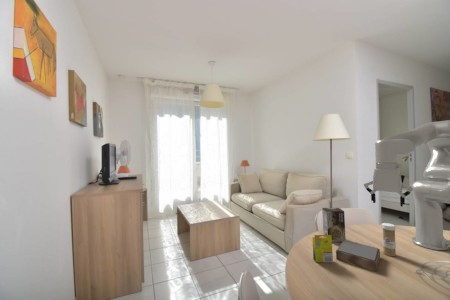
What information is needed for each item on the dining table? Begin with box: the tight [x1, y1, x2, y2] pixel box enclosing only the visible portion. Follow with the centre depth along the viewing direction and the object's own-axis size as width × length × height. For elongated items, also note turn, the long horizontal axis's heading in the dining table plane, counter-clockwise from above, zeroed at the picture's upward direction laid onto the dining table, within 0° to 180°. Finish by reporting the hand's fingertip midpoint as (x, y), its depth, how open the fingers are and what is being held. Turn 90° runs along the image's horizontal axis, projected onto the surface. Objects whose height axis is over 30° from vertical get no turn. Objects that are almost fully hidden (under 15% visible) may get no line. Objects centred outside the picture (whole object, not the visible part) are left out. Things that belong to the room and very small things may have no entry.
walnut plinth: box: [335, 239, 381, 272], centre depth 86 cm, size 14×14×4 cm
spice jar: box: [381, 222, 397, 257], centre depth 89 cm, size 5×5×14 cm
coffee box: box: [321, 207, 347, 243], centre depth 106 cm, size 9×6×16 cm
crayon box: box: [312, 234, 334, 264], centre depth 85 cm, size 7×3×12 cm, turn 86°
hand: (387, 204), depth 89 cm, fingers open, 9 cm apart
